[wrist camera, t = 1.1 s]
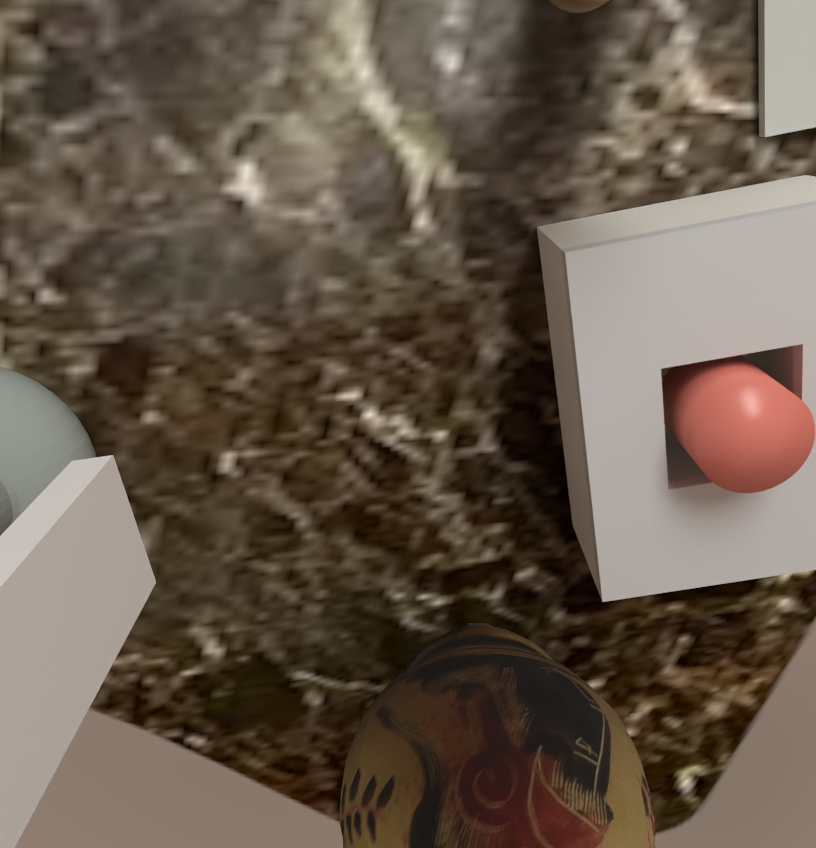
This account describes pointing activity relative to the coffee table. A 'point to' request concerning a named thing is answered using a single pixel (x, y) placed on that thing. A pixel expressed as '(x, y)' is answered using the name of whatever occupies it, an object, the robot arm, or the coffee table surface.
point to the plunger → (737, 423)
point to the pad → (786, 66)
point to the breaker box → (673, 346)
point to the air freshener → (33, 442)
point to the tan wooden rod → (577, 5)
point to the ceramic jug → (492, 755)
